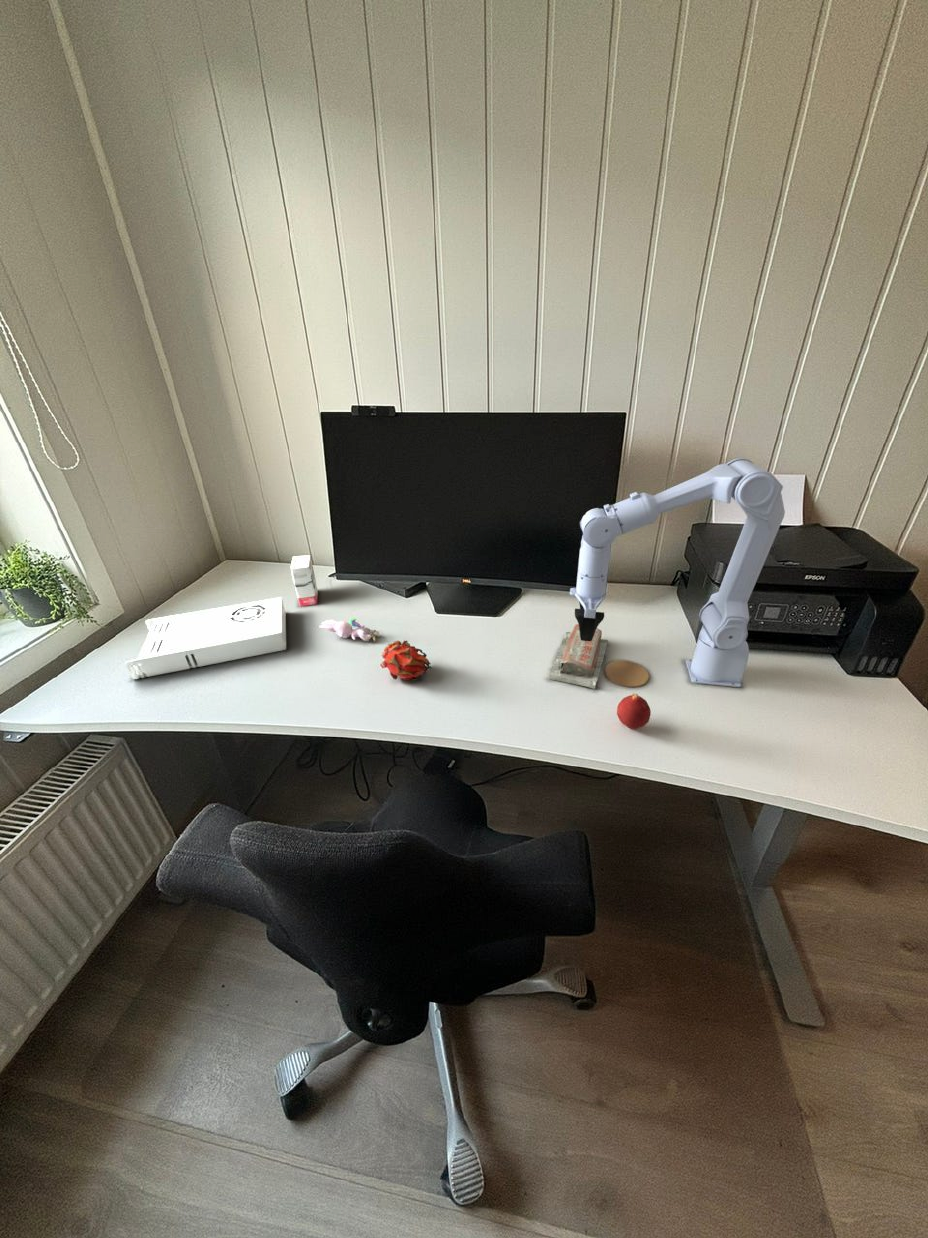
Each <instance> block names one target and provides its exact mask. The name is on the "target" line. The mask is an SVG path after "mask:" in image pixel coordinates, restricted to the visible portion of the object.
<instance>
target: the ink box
mask: <svg viewBox="0 0 928 1238" xmlns="http://www.w3.org/2000/svg"><path fill="white" fill-rule="evenodd" d="M290 573H291V576H292V582H293V585H294V588H295V592H296V597H297V601H298V604H299V605H298V606H299V607H305V606H306V607H307V606H313V605H317V604H318V593H319V592H318V591H319V590H318V589H319V588H318V585H317V580H316V575H315V570H314V566H313V561H312V557H311V555H296V556H292V559H291V564H290Z"/></svg>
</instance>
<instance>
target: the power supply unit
mask: <svg viewBox="0 0 928 1238" xmlns="http://www.w3.org/2000/svg"><path fill="white" fill-rule="evenodd" d="M286 614H287V613H286V609H285V605H284V601H283V598H282V597H281V596H279V597H274V598H267V599H262V600H255V601H250V602H244V603H239V604H233V605H226V606H221V607H216V608H209V609H204V610H197V611H192V612H186V613H185V612H184V613H180V614H174V615H168V616H161V617H157V618H156V617H155V618H151V619H146V620H145V622H144V624H145V625H146V628H147V630H148V634H147V636H146V639H145V641H144V643H143V645H142V647H141V650H140V652H139V654H138V657H137V658H135V659H130V660H128V661H126V662H125V666H126V668H127V670H128V672H129V673H130V675H131V677H132V679H133V680H139V679H140V678H141V679H144V678H146V677H154V676H160V675H165V674H169V673H175V672H179V671H185V670H190V669H191V668H193V669H194V668H197V667H199V668H201V667H204V666H209V665H214V664H220V663H225V662H226V663H227V662H229V661H230V662H231V661H236V660H240V659H245V658H251V657H255V656H261V655H265V654H270V653H275V652H282V651H286V649H287V615H286Z"/></svg>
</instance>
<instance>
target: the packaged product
mask: <svg viewBox="0 0 928 1238" xmlns="http://www.w3.org/2000/svg"><path fill="white" fill-rule="evenodd" d="M602 633H603V631H602V630H601V629H599V628H598V627H597V628H596V631H595V634H594V636H593V639H592V641H581V638H580V630H579V624H578V623H575V624H574V626H573V628H572V630H571V631H566V632H565V634H564V636H563V638H562V641H561V643H560V647H559V648H558V651H557V653H556V656H555V659H554V661H553V663H552V666H551V668H550V671H549V673H548V679H549V680H553V681H558V682H563V683H569V684H573V685H578V686H581V687H582V686H583V687H587V688H590V689H593V690H594V689H596V687H597V682H598V681H599V676H600V671H601V668H602V664H603V662H604V657H605V653H606V650H607V645H608V642H609V640H608V639H604V638H602Z"/></svg>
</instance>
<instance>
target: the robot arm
mask: <svg viewBox="0 0 928 1238" xmlns="http://www.w3.org/2000/svg"><path fill="white" fill-rule="evenodd" d="M783 489H784V485H783V484H782V483H781V482H780V481H779V479H778V478H776V476H775V475H774V474H773V473H771V472H770V471H767V470H765V469H763V468H762V467H760V466H758V465H756V464H755V463H754V462H753V461H752V460H750V459H748V458H742V457H740V458H734V459H732V460H730V461H729V462H727V463H724V462H723V463H721V464H718V465H716V466H713V467H712V468H710V469H709V470H707V471H706V472H704V473H701V474H698V475H697V476H695V477H692V478H690V479H688V480H685V481H684V482H681V483H679V484H676V485H675V486H672V487H669V488H668V489H665V490H663V491H660V492H658V493H657V494H654V495H652V494H649V493H646V492H641V493H638V491H635V492H632V493H630V494H629V497H628V498H626V499H623V500H621V501H618V502H616V503H613V504H609V503H607V504H604V505H603V508H599V507H595V508H592V509H589V510H588V511H586V512H585V514H584V515H583V516H582V518H581V520H580V521H579V527H580V529H581V531H582V536H581V541H580V548H579V554H578V555H579V556H578V564H577V565H578V566H577V576H576V587H571V588H570V589H569V595H570V596H574V597H576V599H577V600H578V604H579V608H574V617H575V619H576V621H577V624H578V625H579V630H580V638H581V641H592V639H593V636H594V634H595V631H596V628H597V629H598V627H599V625H600V624H601V623H602V621H603V620H604V618H605V612H603V611H597V610H598V608H599V607H600V606H601V604H602V603H603V602H604V600H605V599H606V598H607V591H606V590H607V583H608V576H609V568H610V561H611V553H612V550H611V549H612V548H611V547H612V544H613V543H614V541H615V540H616V538H618V537H619V536H622V535H625V534H628V533H630V532H633V531H635V530H638V529H642V528H644V527H647V526H649V525H652V524H654V523H655V522H656V520H657V519H658V518H659V516H660V515H661V514H662V513H666V512H669V511H672V510H675V509H678V508H681V507H684V506H688V505H690V504H694V503H696V502H700V501H704V500H706V499H707V500H708V499H709V500H710V499H711V500H713V501H717V502H721V503H724V504H731V501H732V499H733V500H734V501H735V503H736V504H737V505H739V507H740V508H741V510H742V511H743V512H744V514H745V515H746V518H745V521H744V524H743V526H742V529H741V532H740V534H739V537H738V539H737V542H736V545H735V547H734V550H733V552H732V555H731V557H730V561H729V563H728V566H727V568H726V571H725V574H724V576H723V578H722V581H721V584H720V586H719V589H718V591H717V592H715V593H712V594H711V595H710V597H709V599H708V601H707V602H706V604H704V605H703V606H702V608H700V611H699V614H698V617H699V621H700V622H701V623H702V626H701V628H700V631H699V633H698V638H697V642H696V644H695V648H694V653H693V656H692V659H691V658H690V659H689V658H687V659H685V664H686V667H687V671H688V675H689V678H690V681H691V683H694V684H701V685H702V684H703V685H711V686H722V687H731V688H732V687H733V688H741V687H742V684H741V683H742V679H743V676H744V673H745V670H746V668H747V665H748V661H749V657H750V656H749V655H750V648H749V644H748V642H747V638H748V635H749V632H748V624H749V621H750V612H749V605H748V603H749V600H750V597H751V596H752V593H753V590H754V589H755V586H756V583H757V581H758V579H759V576H760V574H761V572H762V569H763V567H764V565H765V562H766V560H767V557H768V555H769V553H770V551H771V548H772V546H773V544H774V542H775V539H776V537H777V534H778V532H779V529H780V527H781V525H782V522H783V520H784V517H785V513H786V512H785V506H784V500H783V496H782V491H783Z"/></svg>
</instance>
